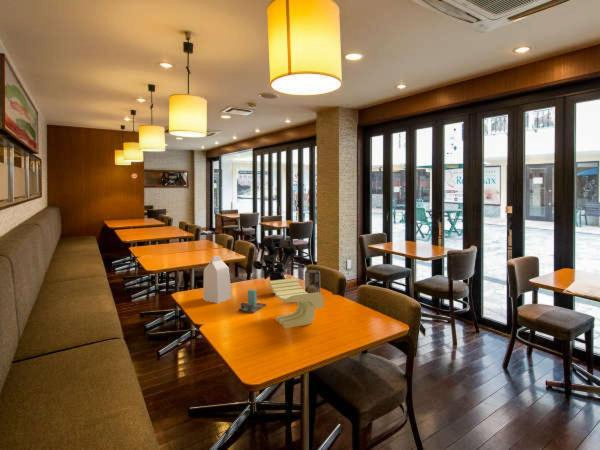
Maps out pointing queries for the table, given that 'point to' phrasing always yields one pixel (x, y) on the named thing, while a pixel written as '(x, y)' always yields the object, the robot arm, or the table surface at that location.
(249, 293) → the teal block
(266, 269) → the robot arm
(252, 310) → the bracket
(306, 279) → the coffee box
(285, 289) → the slatted curved stool
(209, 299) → the milk
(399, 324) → the table surface
